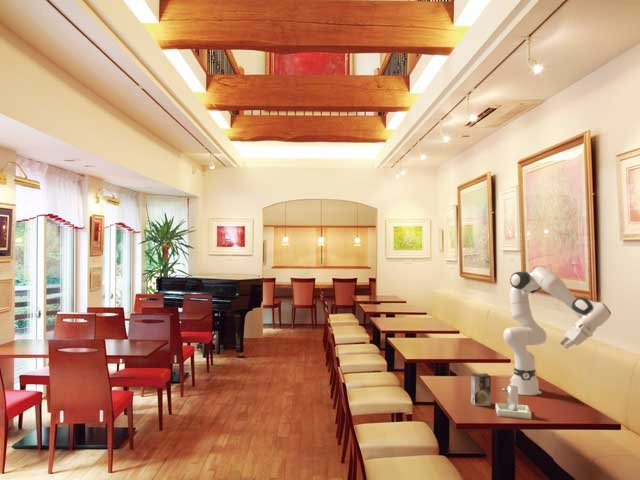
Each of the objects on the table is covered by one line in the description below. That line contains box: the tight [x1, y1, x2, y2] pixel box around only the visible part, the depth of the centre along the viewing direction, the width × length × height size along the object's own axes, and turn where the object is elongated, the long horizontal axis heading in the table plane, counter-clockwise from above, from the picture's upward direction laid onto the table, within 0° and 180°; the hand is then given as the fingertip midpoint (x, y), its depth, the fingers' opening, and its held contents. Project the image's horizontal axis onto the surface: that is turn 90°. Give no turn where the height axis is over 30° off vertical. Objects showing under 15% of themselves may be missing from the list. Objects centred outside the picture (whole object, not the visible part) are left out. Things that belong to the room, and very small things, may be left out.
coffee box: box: [470, 372, 492, 407], centre depth 278 cm, size 9×6×16 cm
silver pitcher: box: [500, 384, 519, 411], centre depth 262 cm, size 5×8×13 cm, turn 77°
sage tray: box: [494, 402, 532, 420], centre depth 262 cm, size 13×16×3 cm
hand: (563, 345), depth 267 cm, fingers open, 8 cm apart
